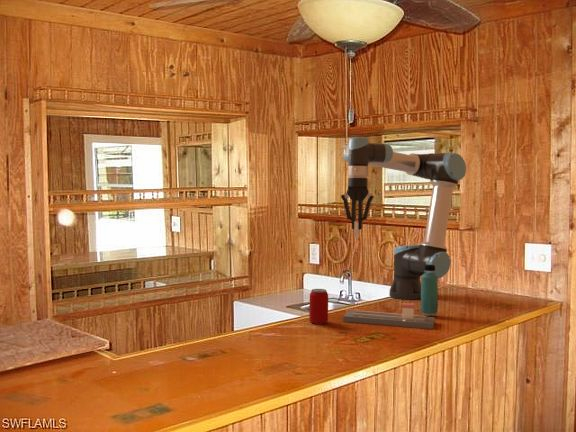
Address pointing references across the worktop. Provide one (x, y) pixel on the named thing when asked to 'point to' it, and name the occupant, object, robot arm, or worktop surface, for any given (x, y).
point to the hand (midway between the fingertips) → (356, 237)
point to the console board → (389, 319)
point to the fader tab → (408, 310)
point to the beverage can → (318, 306)
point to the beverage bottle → (429, 291)
